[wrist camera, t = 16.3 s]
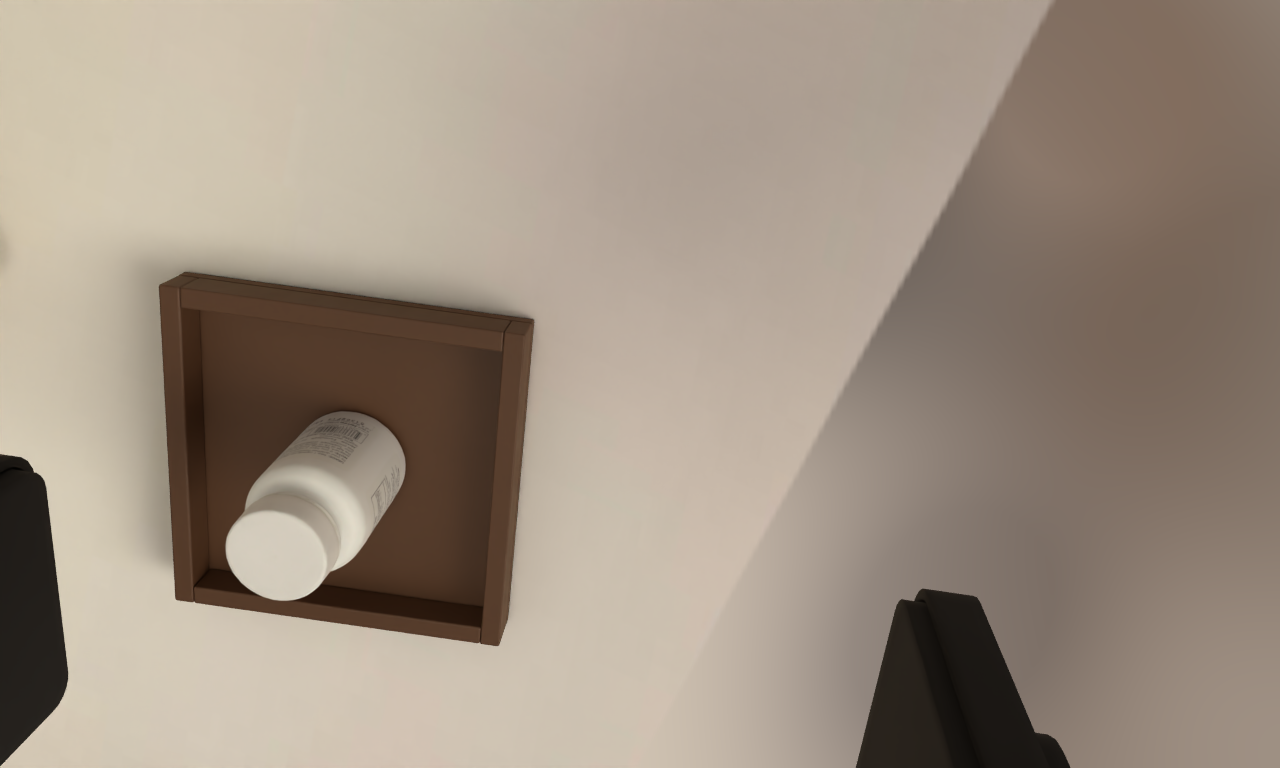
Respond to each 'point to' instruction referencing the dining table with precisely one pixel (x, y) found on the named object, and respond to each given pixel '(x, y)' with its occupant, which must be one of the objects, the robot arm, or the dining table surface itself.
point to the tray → (363, 383)
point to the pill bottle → (315, 505)
